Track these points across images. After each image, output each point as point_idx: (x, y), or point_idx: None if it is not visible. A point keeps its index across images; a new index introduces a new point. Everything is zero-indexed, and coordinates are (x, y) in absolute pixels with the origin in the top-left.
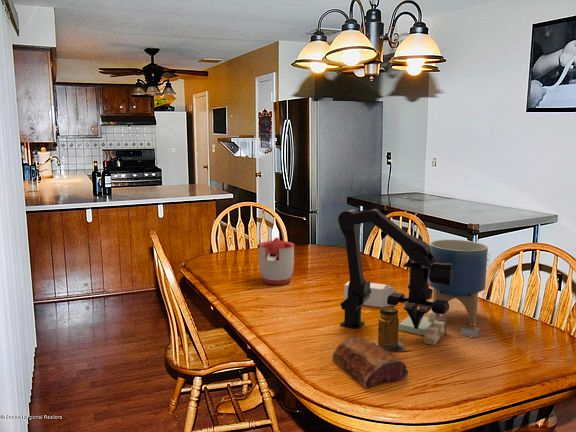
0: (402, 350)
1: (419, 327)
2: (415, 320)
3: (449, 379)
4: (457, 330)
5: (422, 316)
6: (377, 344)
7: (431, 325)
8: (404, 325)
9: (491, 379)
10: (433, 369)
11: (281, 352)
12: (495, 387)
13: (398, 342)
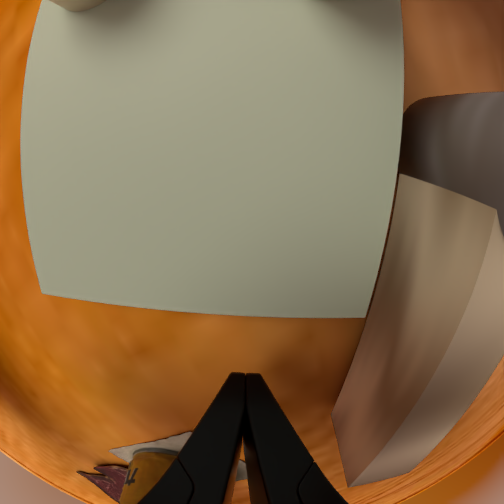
0: (243, 478)
1: (252, 286)
2: (233, 477)
3: (393, 489)
4: (500, 51)
5: (326, 500)
6: (128, 458)
7: (413, 422)
8: (88, 300)
9: (479, 441)
10: (361, 489)
11: (39, 474)
12: (470, 455)
13: (187, 439)
